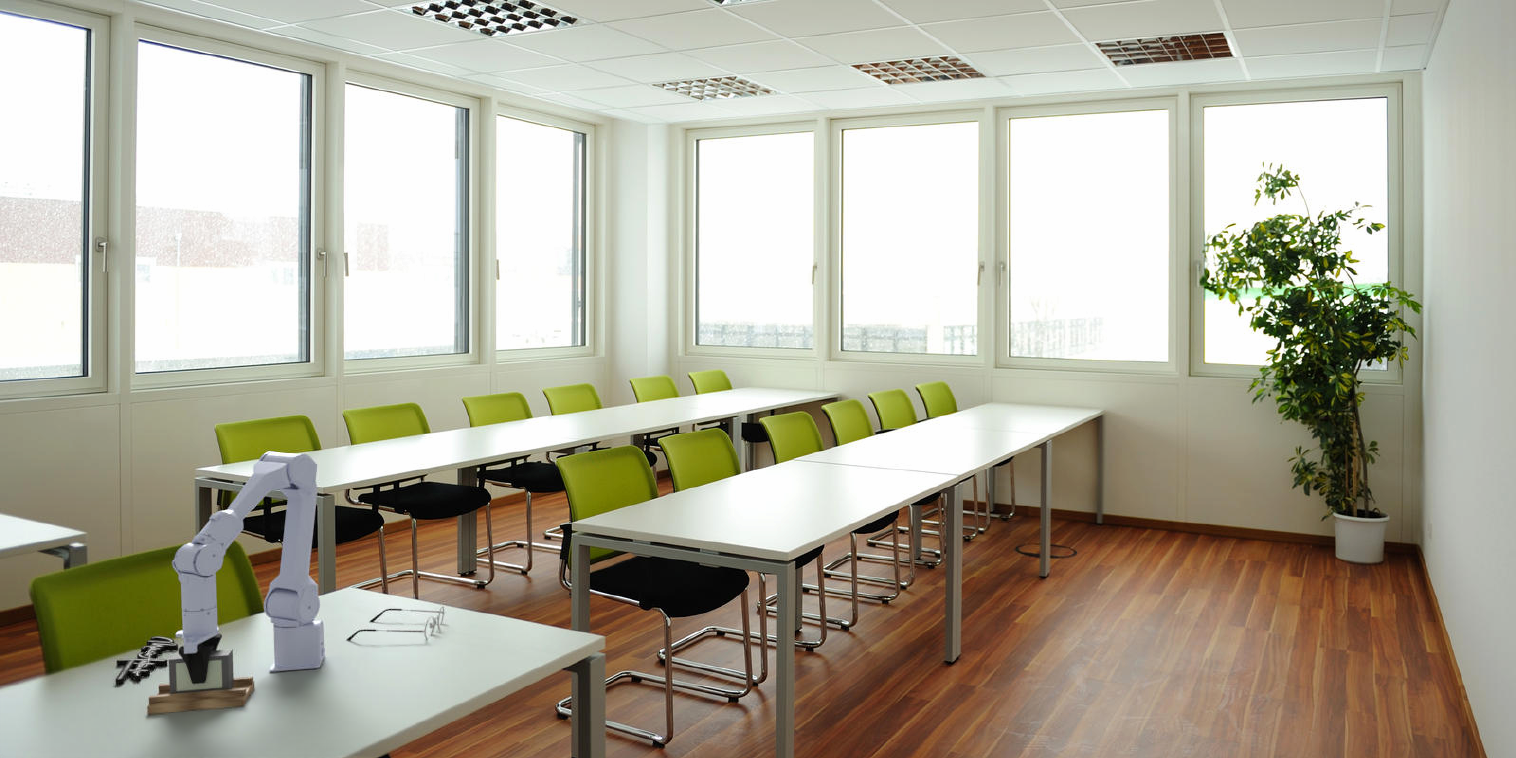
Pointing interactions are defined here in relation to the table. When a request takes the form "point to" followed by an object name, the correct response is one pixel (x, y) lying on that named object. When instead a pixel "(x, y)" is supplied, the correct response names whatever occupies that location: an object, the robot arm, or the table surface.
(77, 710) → the table surface
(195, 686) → the grey block
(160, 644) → the nameplate
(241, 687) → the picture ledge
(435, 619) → the eyeglasses
